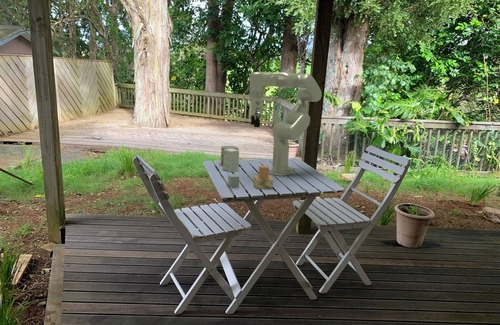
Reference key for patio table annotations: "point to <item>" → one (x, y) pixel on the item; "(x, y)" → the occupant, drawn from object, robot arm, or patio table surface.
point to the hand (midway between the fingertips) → (255, 125)
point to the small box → (231, 160)
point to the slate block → (233, 180)
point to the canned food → (223, 151)
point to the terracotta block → (263, 171)
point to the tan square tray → (263, 182)
